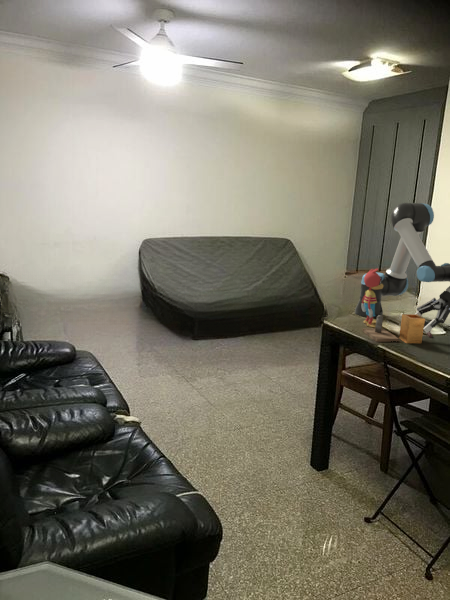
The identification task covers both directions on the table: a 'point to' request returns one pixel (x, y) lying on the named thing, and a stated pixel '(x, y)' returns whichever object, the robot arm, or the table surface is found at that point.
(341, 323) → the table surface
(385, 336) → the post
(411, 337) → the frame
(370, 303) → the toy
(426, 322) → the pink handled mallet
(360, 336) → the table surface
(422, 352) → the table surface
